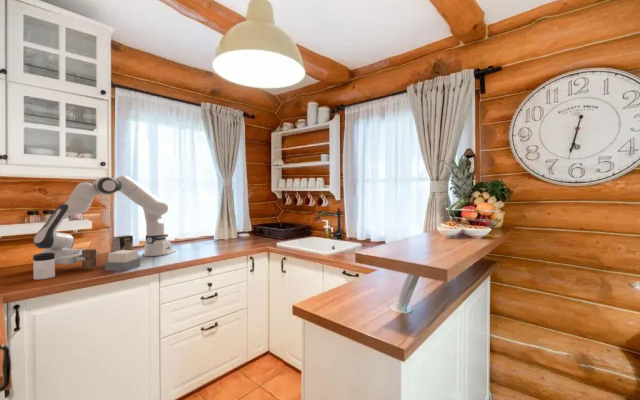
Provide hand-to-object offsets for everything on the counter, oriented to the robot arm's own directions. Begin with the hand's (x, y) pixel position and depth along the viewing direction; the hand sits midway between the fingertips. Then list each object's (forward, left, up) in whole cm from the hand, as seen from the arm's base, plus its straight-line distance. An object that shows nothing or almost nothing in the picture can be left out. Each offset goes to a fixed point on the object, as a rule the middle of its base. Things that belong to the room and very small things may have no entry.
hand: (90, 257), depth 162 cm
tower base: (-6, +15, -8) cm, 18 cm away
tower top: (-6, +15, -3) cm, 16 cm away
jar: (+16, -10, -7) cm, 20 cm away
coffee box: (-22, +1, -7) cm, 23 cm away
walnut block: (0, -1, -6) cm, 6 cm away
